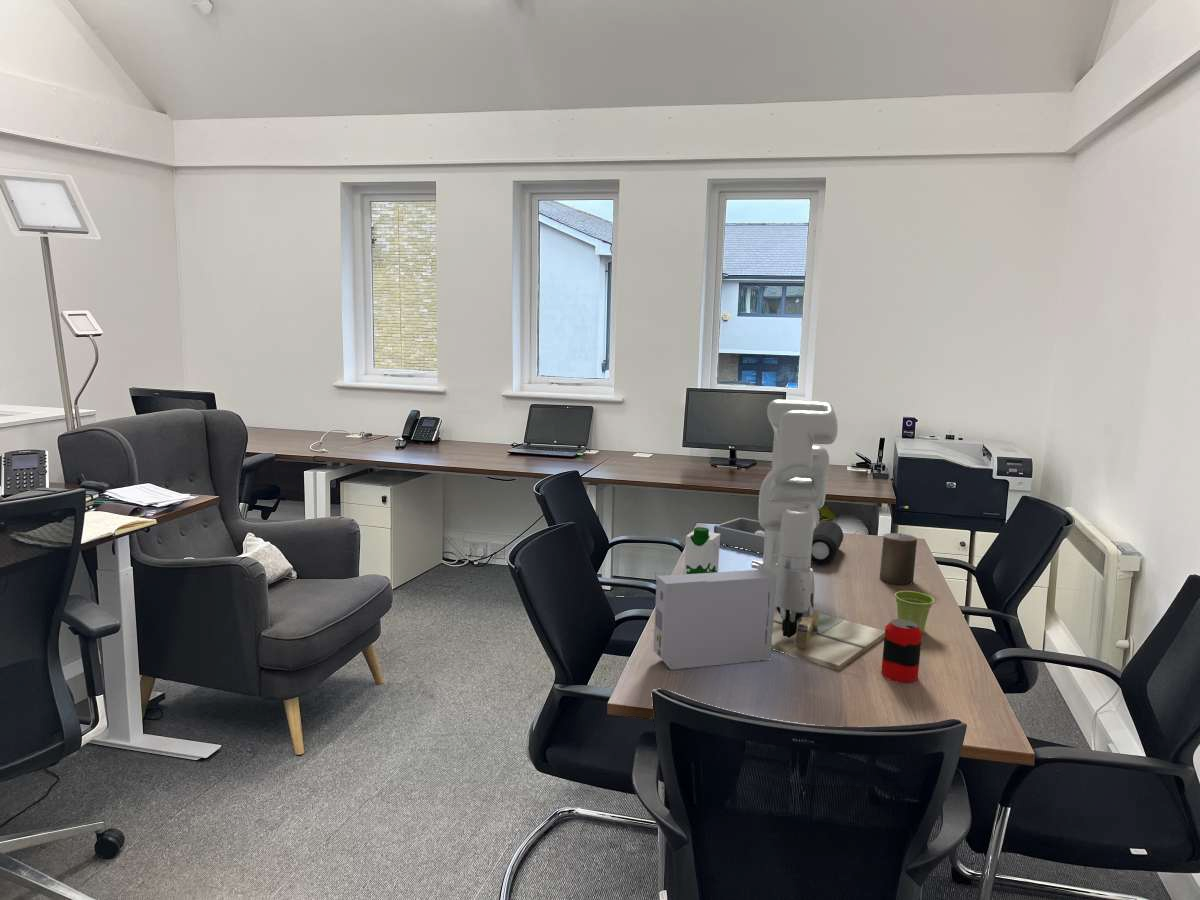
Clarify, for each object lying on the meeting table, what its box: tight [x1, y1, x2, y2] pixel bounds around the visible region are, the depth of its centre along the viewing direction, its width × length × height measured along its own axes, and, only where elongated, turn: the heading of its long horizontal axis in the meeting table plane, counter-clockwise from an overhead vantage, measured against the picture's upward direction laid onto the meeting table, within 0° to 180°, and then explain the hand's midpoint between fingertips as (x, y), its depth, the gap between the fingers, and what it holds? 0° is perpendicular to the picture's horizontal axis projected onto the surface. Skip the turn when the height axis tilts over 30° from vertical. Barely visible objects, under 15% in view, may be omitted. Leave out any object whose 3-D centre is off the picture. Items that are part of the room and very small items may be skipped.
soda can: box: [881, 618, 923, 684], centre depth 179 cm, size 8×8×12 cm
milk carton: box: [683, 526, 720, 574], centre depth 225 cm, size 9×9×20 cm
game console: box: [653, 569, 776, 671], centre depth 183 cm, size 6×27×20 cm, turn 107°
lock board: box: [772, 609, 885, 671], centre depth 200 cm, size 28×28×4 cm
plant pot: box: [894, 590, 935, 634], centre depth 207 cm, size 9×9×9 cm
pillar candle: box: [879, 532, 918, 586], centre depth 246 cm, size 10×10×15 cm
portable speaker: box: [811, 520, 844, 566], centre depth 270 cm, size 26×10×10 cm, turn 158°
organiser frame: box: [713, 517, 765, 554], centre depth 282 cm, size 24×18×6 cm
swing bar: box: [796, 609, 820, 648], centre depth 195 cm, size 15×4×5 cm, turn 158°
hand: (788, 635), depth 194 cm, fingers closed
